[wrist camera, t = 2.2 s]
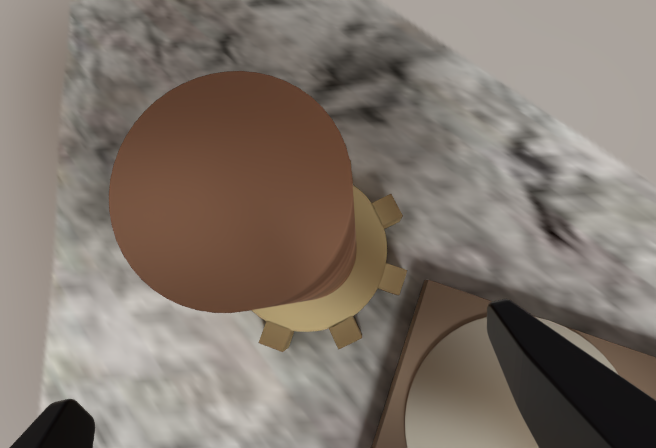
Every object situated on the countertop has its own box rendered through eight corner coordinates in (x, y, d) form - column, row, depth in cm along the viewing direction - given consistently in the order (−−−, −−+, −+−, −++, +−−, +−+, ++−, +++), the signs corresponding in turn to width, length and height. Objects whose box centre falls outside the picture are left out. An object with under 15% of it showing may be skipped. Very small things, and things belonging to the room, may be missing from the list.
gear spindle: (369, 378, 19) (388, 543, 6) (190, 310, 20) (-89, 340, 7) (429, 194, 20) (543, 33, 7) (256, 139, 21) (109, -81, 9)
